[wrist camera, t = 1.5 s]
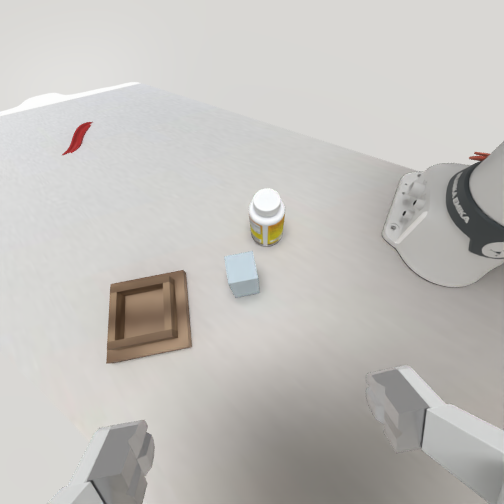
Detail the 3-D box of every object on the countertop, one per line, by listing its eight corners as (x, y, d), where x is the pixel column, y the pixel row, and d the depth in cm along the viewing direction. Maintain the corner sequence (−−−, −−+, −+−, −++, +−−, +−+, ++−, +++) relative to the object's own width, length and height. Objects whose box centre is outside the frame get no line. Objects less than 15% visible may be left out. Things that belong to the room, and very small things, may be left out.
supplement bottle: (284, 222, 44) (289, 186, 35) (279, 249, 42) (283, 218, 33) (254, 217, 45) (252, 181, 36) (248, 244, 43) (243, 212, 33)
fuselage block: (231, 274, 41) (224, 256, 33) (254, 270, 41) (252, 250, 34) (235, 297, 39) (228, 283, 32) (259, 292, 39) (258, 277, 32)
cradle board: (115, 286, 41) (101, 279, 37) (185, 273, 41) (178, 264, 38) (112, 363, 36) (95, 363, 32) (191, 346, 36) (183, 345, 33)
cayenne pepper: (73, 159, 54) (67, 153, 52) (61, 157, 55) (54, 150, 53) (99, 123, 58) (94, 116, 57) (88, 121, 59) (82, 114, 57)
